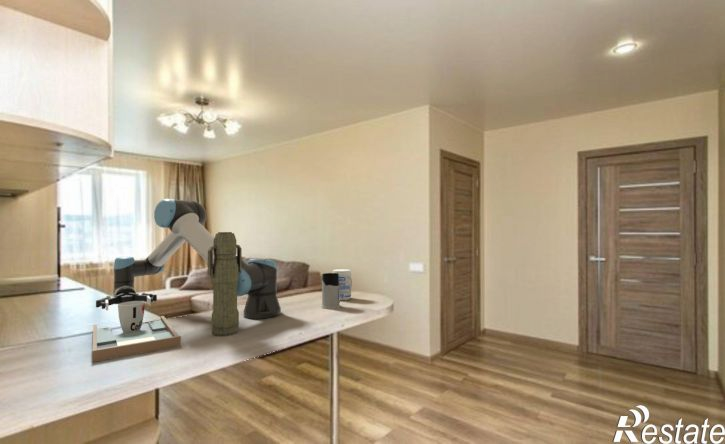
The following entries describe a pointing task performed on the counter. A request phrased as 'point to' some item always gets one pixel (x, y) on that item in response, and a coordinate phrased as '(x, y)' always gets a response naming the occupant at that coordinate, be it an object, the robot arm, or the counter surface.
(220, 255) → the thermos
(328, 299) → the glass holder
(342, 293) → the supplement tub
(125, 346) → the wooden tray
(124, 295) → the robot arm
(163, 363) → the counter surface
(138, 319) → the cup
